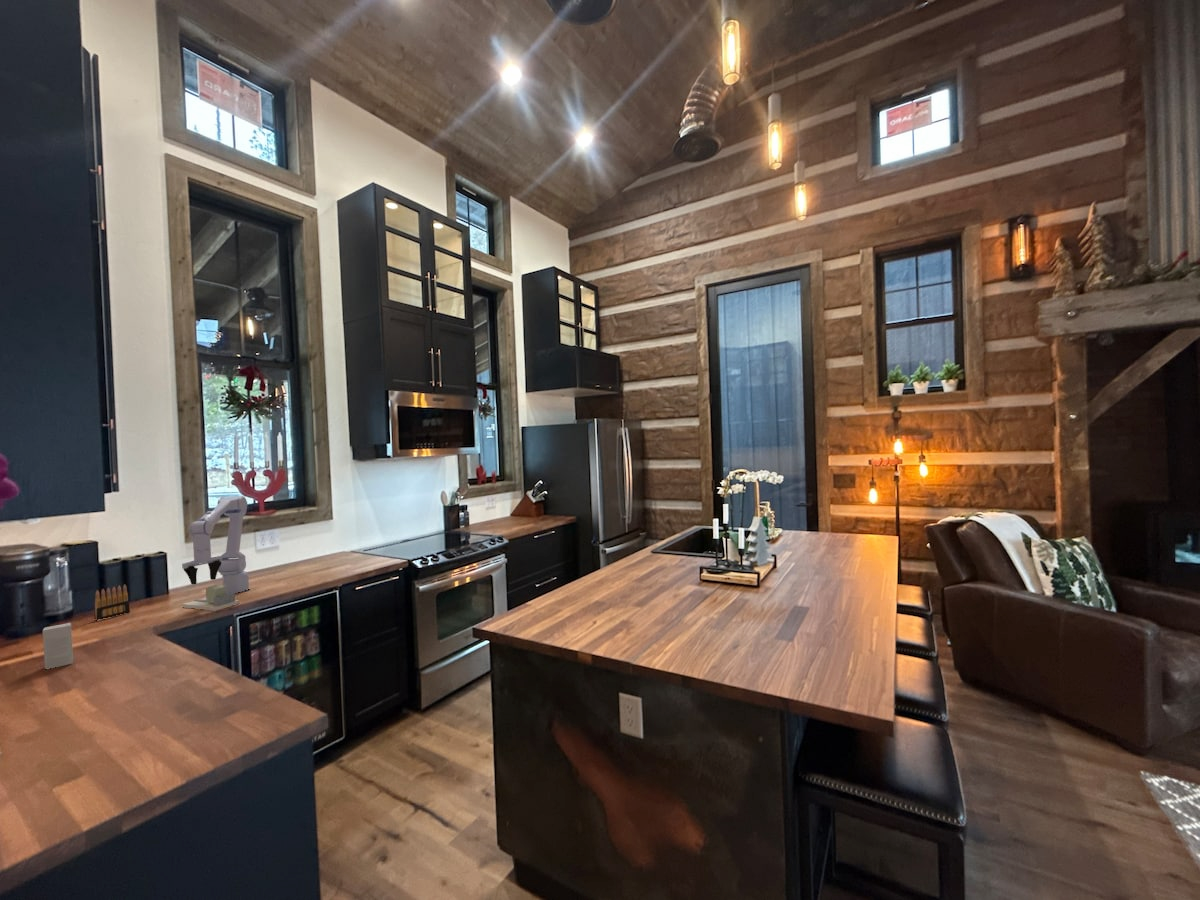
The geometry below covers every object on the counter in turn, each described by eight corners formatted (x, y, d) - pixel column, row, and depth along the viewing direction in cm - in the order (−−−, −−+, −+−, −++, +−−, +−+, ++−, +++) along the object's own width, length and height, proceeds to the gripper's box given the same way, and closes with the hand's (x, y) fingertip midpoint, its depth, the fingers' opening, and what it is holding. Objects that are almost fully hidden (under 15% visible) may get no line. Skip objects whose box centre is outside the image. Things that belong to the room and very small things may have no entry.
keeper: (216, 599, 219) (215, 585, 219) (225, 600, 217) (225, 586, 217) (206, 602, 216) (205, 588, 216) (215, 603, 214) (215, 588, 214)
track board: (207, 600, 226) (207, 596, 226) (239, 603, 219) (239, 599, 219) (182, 607, 217) (182, 603, 217) (214, 611, 209) (214, 606, 209)
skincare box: (73, 660, 162) (71, 622, 162) (73, 663, 159) (71, 625, 159) (45, 666, 158) (43, 627, 158) (44, 670, 155) (42, 630, 155)
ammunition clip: (96, 621, 202) (95, 590, 202) (94, 621, 203) (92, 590, 203) (130, 612, 212) (128, 583, 212) (127, 612, 213) (126, 583, 213)
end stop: (231, 600, 218) (230, 592, 218) (235, 601, 217) (234, 593, 217) (213, 605, 212) (213, 597, 212) (217, 606, 211) (217, 597, 211)
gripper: (213, 545, 225) (215, 576, 225) (176, 552, 211) (178, 585, 212) (224, 546, 223) (226, 577, 223) (188, 553, 209) (189, 586, 209)
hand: (203, 581), depth 217 cm, fingers open, 7 cm apart
